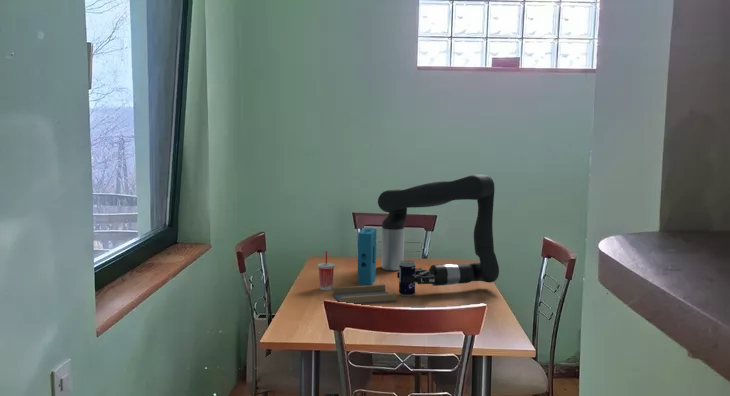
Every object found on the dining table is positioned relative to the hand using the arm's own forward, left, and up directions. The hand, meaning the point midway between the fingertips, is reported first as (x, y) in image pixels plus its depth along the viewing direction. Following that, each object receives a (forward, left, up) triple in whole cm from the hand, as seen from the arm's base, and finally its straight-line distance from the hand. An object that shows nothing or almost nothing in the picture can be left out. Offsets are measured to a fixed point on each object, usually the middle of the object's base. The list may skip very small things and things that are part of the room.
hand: (400, 277), depth 215 cm
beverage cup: (-15, -24, -7) cm, 29 cm away
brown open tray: (0, -14, -7) cm, 15 cm away
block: (-20, -7, -7) cm, 22 cm away
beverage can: (0, +2, -7) cm, 7 cm away
